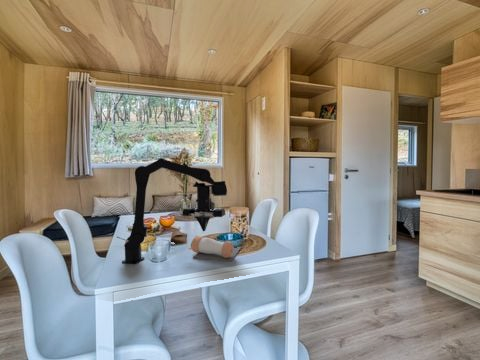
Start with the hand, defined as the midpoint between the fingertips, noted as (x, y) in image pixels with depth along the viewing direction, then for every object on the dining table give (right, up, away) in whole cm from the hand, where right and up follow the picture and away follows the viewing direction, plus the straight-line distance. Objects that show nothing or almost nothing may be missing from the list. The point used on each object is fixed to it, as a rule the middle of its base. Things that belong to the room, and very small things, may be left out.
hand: (204, 230), depth 117 cm
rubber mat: (+7, -10, +1) cm, 12 cm away
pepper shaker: (-4, -6, +1) cm, 7 cm away
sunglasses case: (-16, -10, +22) cm, 29 cm away
